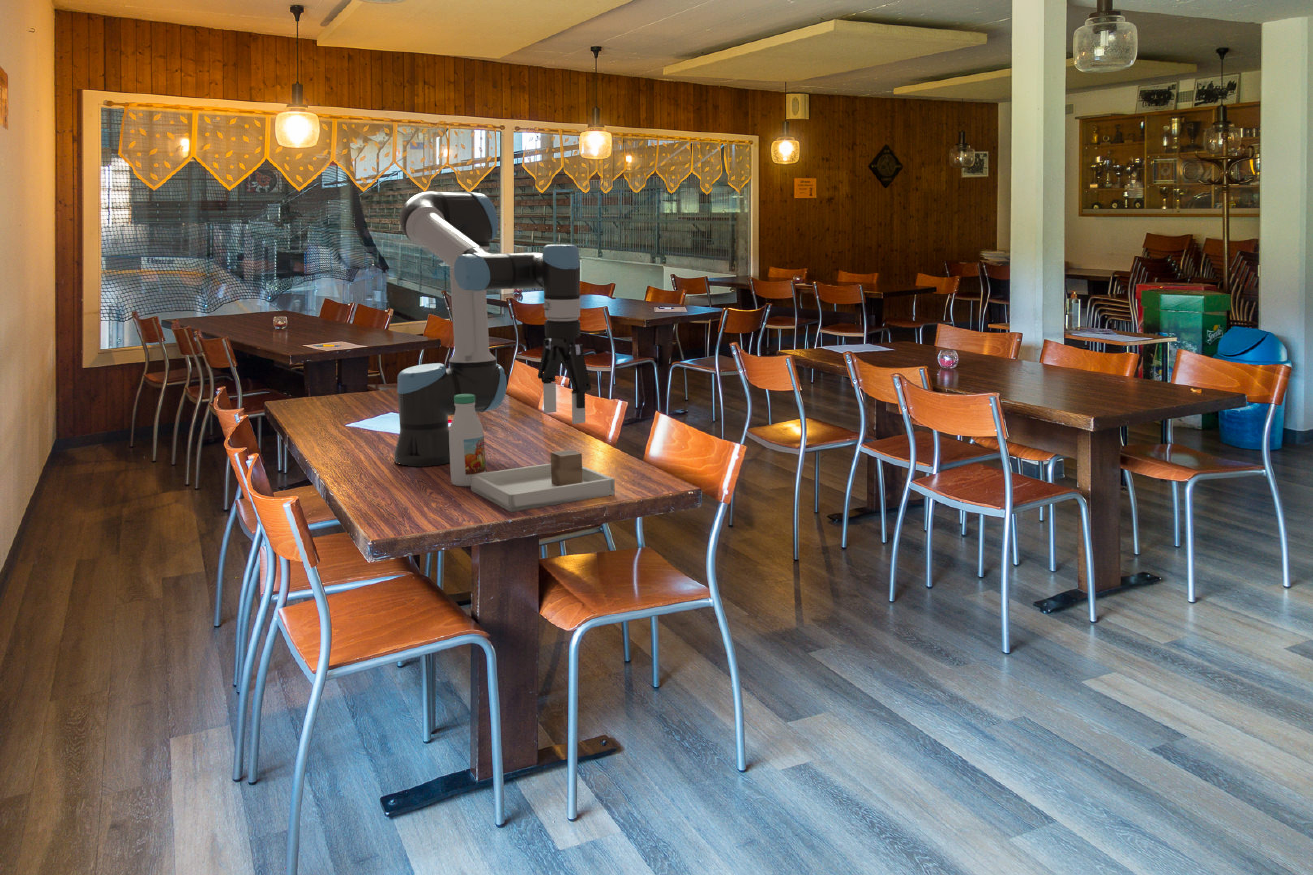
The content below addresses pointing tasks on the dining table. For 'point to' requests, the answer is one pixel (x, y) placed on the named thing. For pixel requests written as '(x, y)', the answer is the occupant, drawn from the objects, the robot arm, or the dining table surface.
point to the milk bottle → (466, 442)
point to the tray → (537, 487)
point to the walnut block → (566, 467)
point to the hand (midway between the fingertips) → (564, 417)
